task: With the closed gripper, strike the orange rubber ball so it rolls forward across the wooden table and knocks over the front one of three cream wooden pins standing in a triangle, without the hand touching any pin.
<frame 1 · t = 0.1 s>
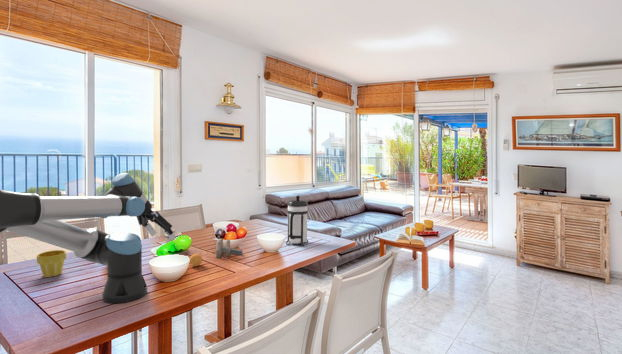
hand: (163, 236, 163), 15 cm above the table, tool tilted 35°, fingers open, 13 cm apart
back wall: (229, 253, 189), on the table
back pin right: (227, 255, 184), on the table
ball: (195, 260, 167), on the table
plant pot: (52, 275, 152), on the table
front pin: (218, 257, 181), on the table
back pin left: (220, 254, 186), on the table
teacup with lid: (173, 249, 194), on the table
coffee press: (297, 244, 210), on the table
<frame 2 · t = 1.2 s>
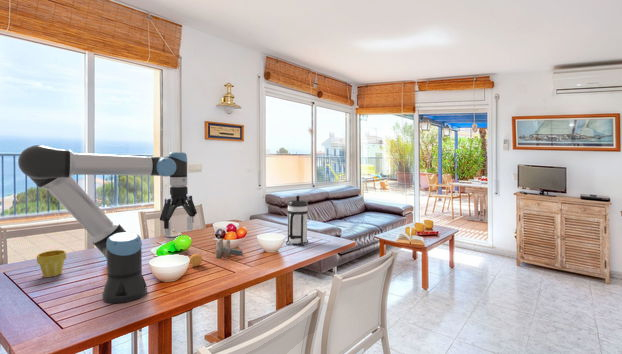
hand: (179, 232, 157), 18 cm above the table, tool pointing down, fingers open, 12 cm apart
nothing on the table moved.
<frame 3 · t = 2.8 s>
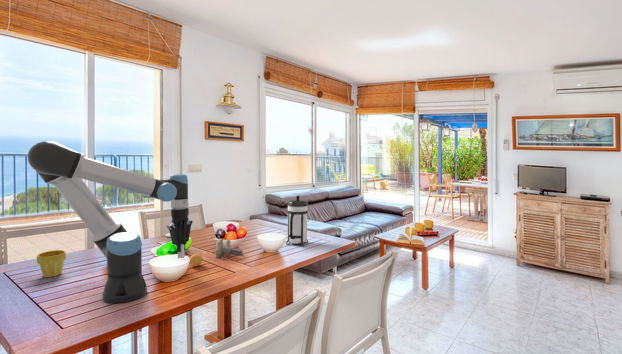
hand: (181, 258, 158), 6 cm above the table, tool pointing down, fingers closed
nothing on the table moved.
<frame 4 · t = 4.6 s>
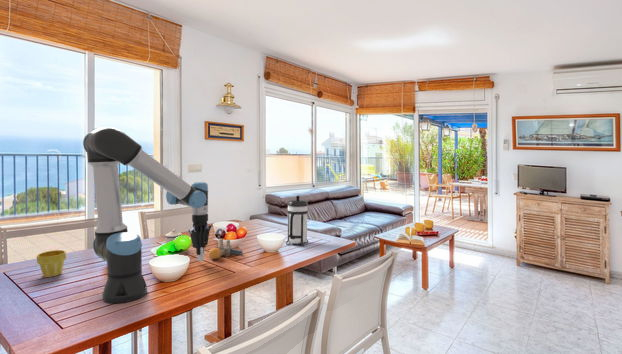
hand: (200, 260, 169), 2 cm above the table, tool pointing down, fingers closed
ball: (214, 253, 178), on the table
front pin: (219, 254, 182), point 1 cm above the table, tilted 69°
everything else where it was.
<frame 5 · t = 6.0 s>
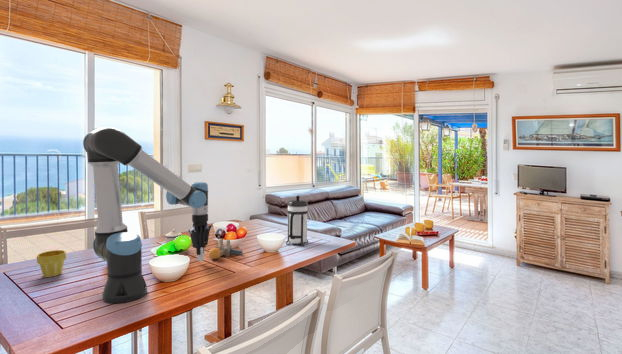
hand: (200, 260, 169), 2 cm above the table, tool pointing down, fingers closed
nothing on the table moved.
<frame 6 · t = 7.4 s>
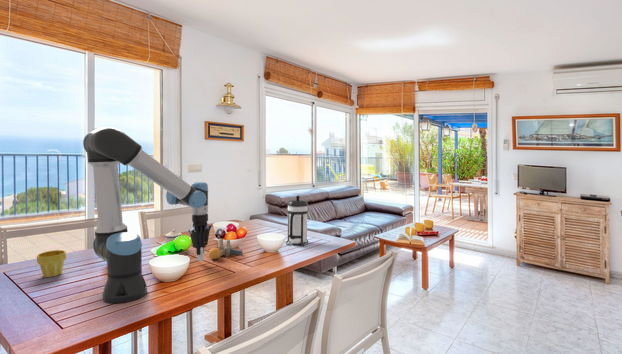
hand: (200, 260, 169), 2 cm above the table, tool pointing down, fingers closed
nothing on the table moved.
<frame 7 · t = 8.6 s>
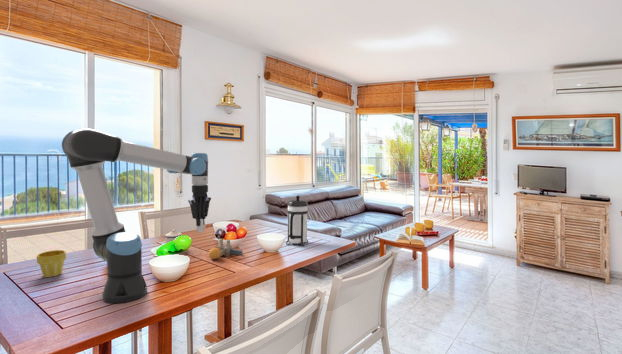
hand: (200, 232, 168), 16 cm above the table, tool pointing down, fingers closed
nothing on the table moved.
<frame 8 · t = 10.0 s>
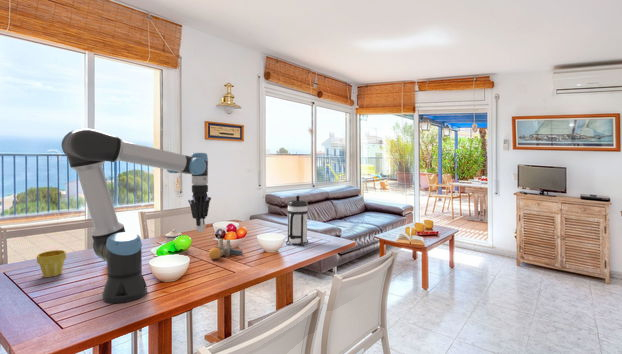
hand: (200, 231, 168), 16 cm above the table, tool pointing down, fingers closed
nothing on the table moved.
at the end: front pin tilted 70°; front pin never touched the robot; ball moved 12.9 cm from its start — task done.
